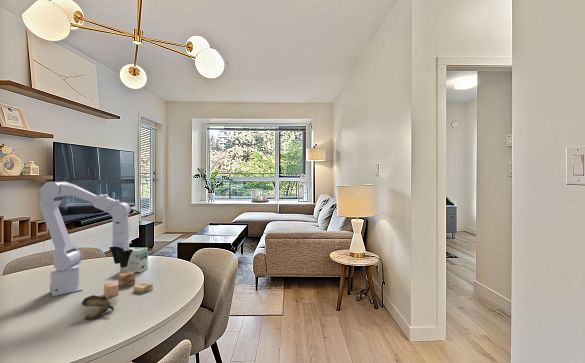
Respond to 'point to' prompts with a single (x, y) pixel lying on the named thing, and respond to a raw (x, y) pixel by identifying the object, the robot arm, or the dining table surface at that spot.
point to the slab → (143, 287)
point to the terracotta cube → (111, 289)
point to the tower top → (126, 276)
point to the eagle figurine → (100, 302)
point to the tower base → (126, 283)
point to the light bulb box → (137, 260)
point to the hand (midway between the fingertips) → (120, 265)
